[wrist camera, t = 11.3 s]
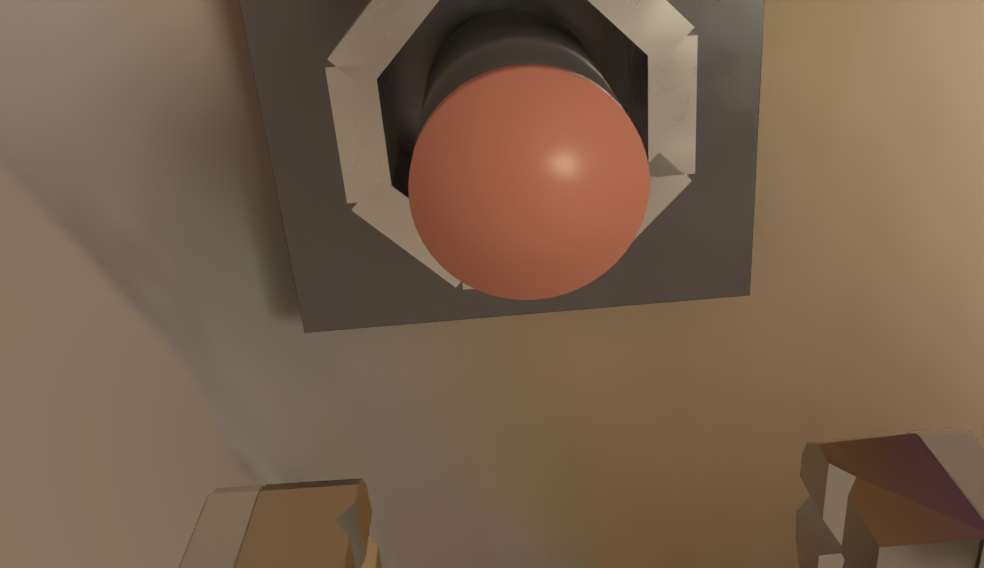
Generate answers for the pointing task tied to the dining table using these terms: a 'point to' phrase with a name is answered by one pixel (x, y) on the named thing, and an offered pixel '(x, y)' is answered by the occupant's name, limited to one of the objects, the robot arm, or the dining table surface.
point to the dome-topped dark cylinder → (524, 160)
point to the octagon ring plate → (393, 128)
